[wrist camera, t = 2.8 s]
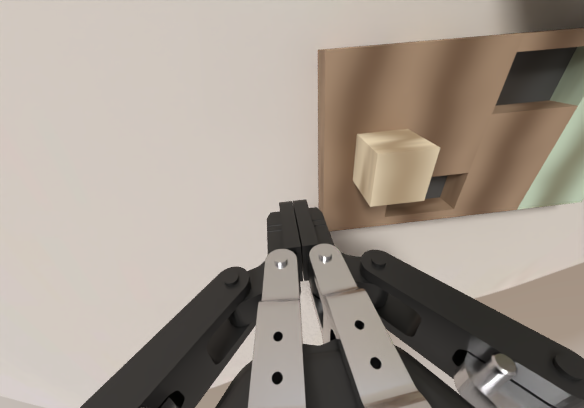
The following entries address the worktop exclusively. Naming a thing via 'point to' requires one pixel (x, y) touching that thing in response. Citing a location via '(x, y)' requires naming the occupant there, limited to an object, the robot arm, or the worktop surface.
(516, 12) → the worktop surface
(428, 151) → the block
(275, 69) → the worktop surface
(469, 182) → the board
